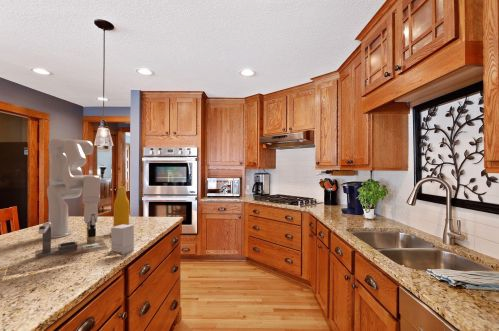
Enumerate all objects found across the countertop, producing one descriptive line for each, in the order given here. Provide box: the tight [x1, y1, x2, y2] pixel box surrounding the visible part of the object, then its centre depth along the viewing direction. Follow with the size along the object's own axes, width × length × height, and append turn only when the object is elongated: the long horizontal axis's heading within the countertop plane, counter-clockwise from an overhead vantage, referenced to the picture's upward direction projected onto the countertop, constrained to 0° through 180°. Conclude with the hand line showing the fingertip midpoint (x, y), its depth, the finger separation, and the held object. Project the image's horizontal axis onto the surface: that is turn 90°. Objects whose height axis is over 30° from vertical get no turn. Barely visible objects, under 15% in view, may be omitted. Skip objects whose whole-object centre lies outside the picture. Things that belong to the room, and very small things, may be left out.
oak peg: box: [86, 222, 96, 245], centre depth 125 cm, size 4×4×11 cm
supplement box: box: [110, 224, 135, 255], centre depth 122 cm, size 7×7×13 cm
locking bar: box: [38, 221, 51, 235], centre depth 109 cm, size 16×3×3 cm, turn 33°
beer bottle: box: [113, 186, 130, 227], centre depth 161 cm, size 9×9×29 cm
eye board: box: [34, 227, 110, 263], centre depth 121 cm, size 20×28×14 cm
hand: (91, 235), depth 125 cm, fingers closed on oak peg, 3 cm apart
